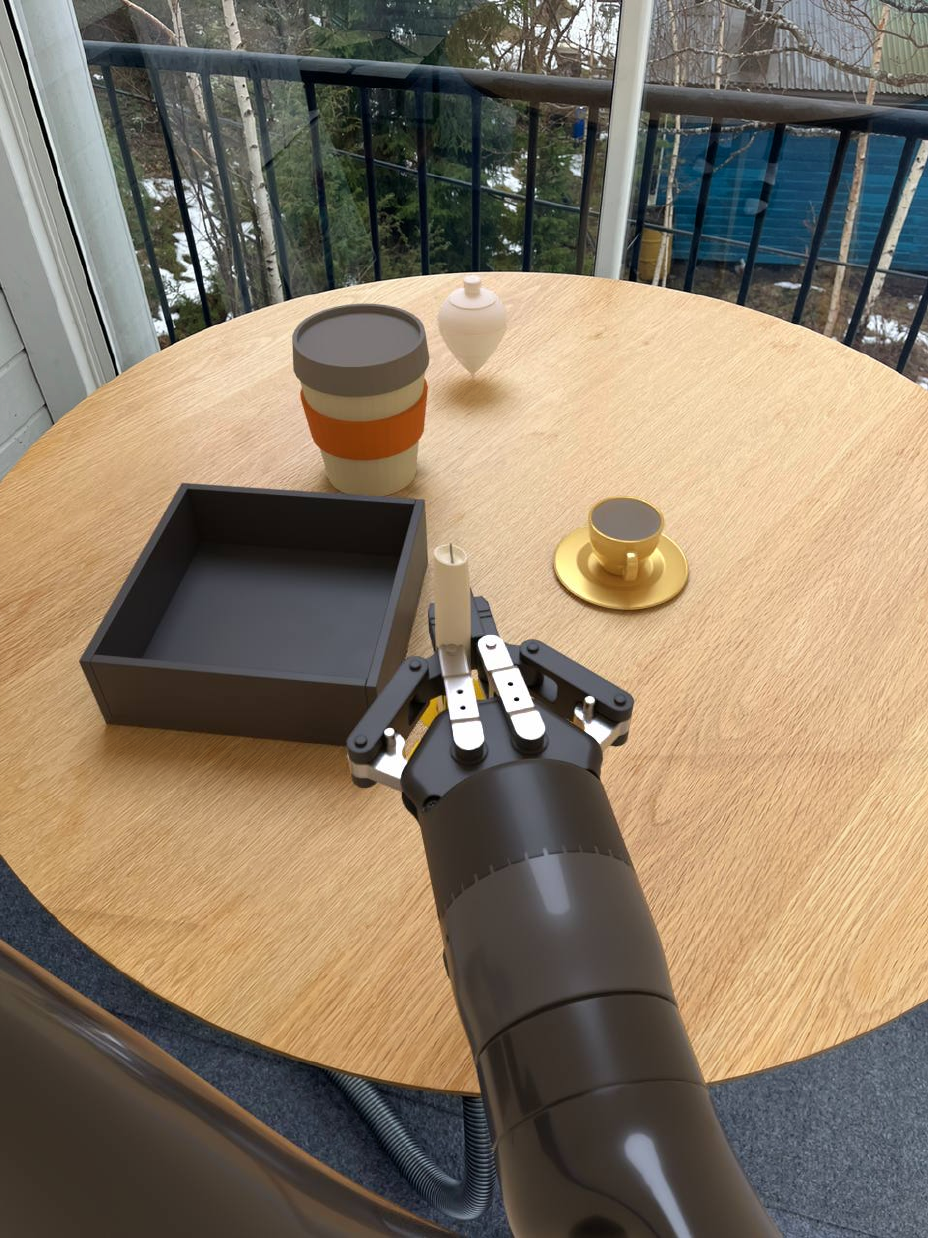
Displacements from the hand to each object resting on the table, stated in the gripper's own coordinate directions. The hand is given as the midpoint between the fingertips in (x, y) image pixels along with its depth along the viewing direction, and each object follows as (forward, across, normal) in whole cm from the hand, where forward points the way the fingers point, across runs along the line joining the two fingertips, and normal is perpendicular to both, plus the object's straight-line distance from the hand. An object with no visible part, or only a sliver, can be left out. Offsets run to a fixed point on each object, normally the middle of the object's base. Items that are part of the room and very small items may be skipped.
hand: (453, 602), depth 46 cm
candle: (-3, +1, +9) cm, 10 cm away
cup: (+26, -20, +24) cm, 41 cm away
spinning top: (+61, -14, +24) cm, 67 cm away
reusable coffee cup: (+46, 0, +24) cm, 51 cm away
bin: (+24, +10, +24) cm, 35 cm away
